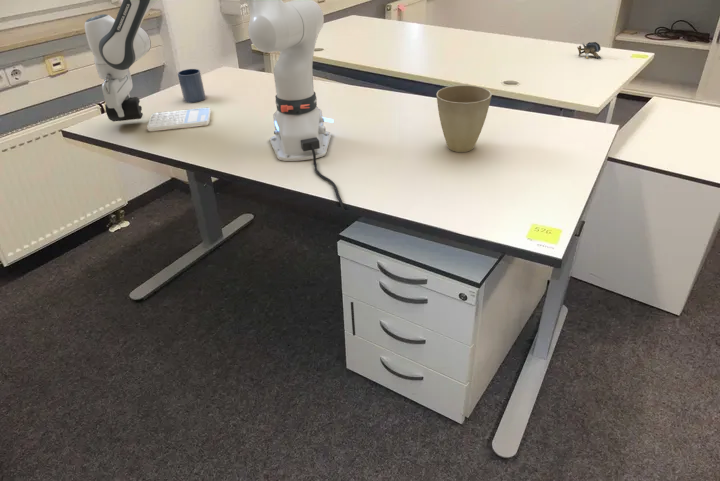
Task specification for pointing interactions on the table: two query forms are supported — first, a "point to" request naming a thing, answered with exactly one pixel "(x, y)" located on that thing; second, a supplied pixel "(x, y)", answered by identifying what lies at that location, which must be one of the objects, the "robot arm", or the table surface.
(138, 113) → the end cap
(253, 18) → the robot arm
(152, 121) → the calculator
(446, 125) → the plant pot
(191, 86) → the pen cup
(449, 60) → the table surface
